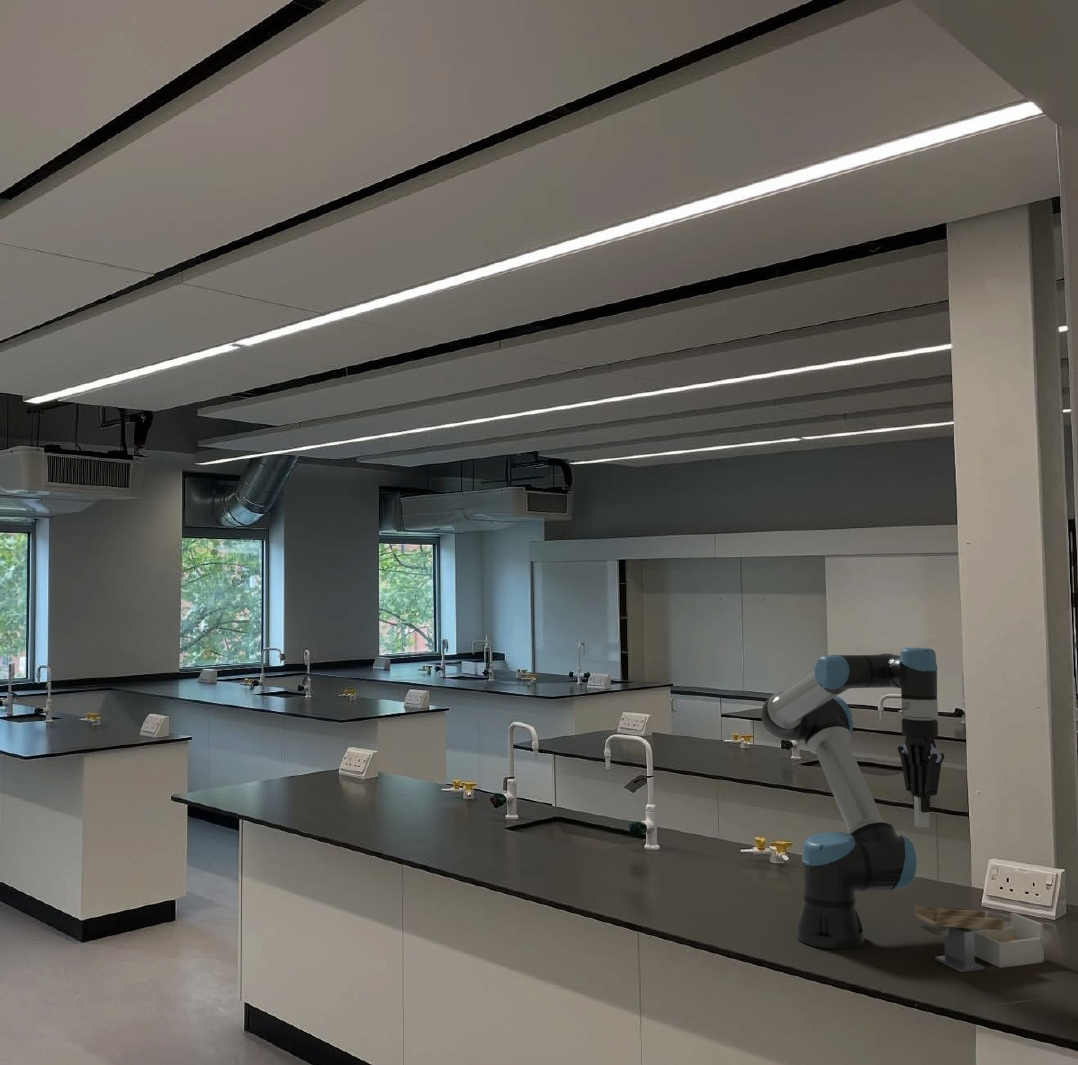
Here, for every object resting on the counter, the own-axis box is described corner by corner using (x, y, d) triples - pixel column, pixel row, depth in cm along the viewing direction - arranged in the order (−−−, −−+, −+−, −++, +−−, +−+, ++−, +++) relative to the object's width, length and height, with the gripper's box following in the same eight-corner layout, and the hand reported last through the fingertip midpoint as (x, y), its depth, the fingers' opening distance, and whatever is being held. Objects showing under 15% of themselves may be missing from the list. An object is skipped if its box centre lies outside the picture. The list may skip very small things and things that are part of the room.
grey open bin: (971, 954, 225) (970, 917, 226) (1014, 949, 229) (1013, 912, 229) (999, 967, 217) (998, 929, 218) (1044, 962, 221) (1042, 924, 221)
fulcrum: (961, 972, 215) (960, 934, 215) (935, 959, 222) (934, 922, 223) (984, 969, 216) (983, 931, 217) (958, 956, 224) (957, 920, 225)
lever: (931, 935, 214) (934, 912, 215) (893, 917, 227) (895, 895, 227) (1001, 939, 219) (1003, 916, 220) (960, 921, 232) (962, 900, 232)
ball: (1000, 954, 225) (997, 937, 225) (1013, 949, 226) (1010, 933, 226) (1012, 959, 221) (1009, 943, 221) (1025, 955, 222) (1022, 938, 222)
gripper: (886, 715, 231) (888, 821, 230) (924, 722, 219) (927, 834, 217) (914, 714, 233) (917, 819, 232) (953, 720, 221) (956, 831, 219)
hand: (921, 826), depth 225 cm, fingers closed
